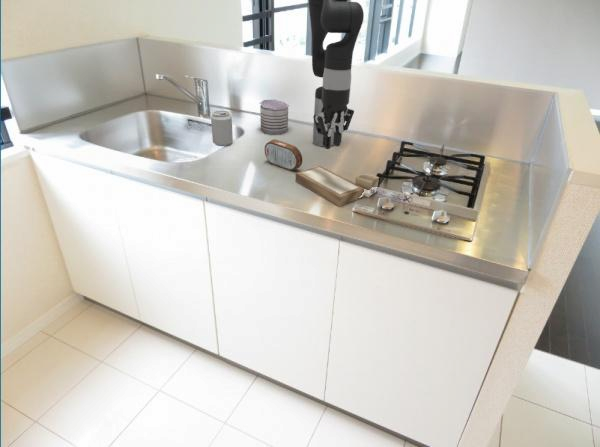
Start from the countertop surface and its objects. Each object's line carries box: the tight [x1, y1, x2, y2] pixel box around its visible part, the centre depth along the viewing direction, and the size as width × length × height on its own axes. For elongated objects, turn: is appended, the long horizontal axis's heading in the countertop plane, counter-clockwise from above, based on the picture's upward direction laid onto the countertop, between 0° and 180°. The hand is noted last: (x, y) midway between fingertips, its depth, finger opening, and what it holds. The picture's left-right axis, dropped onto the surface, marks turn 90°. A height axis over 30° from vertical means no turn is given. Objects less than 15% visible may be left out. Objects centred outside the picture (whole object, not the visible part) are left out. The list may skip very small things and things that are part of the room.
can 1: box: [210, 109, 234, 147], centre depth 154 cm, size 8×8×12 cm
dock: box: [295, 165, 365, 208], centre depth 127 cm, size 10×20×3 cm, turn 39°
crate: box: [355, 172, 380, 190], centre depth 125 cm, size 5×5×5 cm
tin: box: [264, 139, 303, 171], centre depth 139 cm, size 15×3×8 cm, turn 51°
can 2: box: [259, 98, 290, 136], centre depth 168 cm, size 11×11×12 cm
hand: (331, 146), depth 120 cm, fingers open, 3 cm apart
